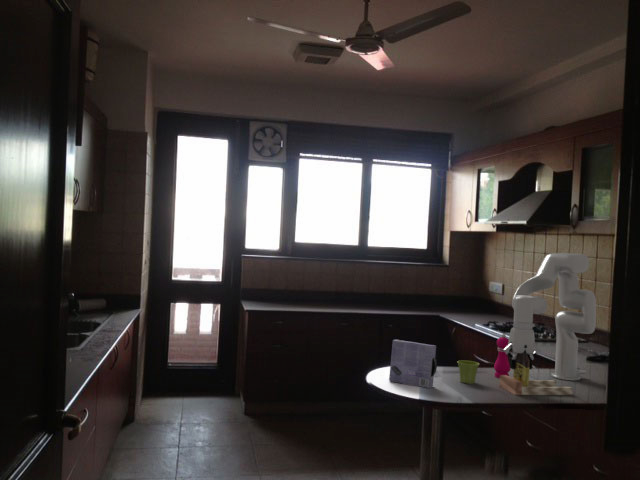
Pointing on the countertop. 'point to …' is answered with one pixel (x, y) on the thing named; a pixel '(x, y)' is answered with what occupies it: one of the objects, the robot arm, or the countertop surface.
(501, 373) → the pepper mill
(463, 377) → the plant pot
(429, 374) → the cake pan box
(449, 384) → the countertop surface
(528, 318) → the robot arm
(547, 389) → the guide track
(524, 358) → the sauce bottle
